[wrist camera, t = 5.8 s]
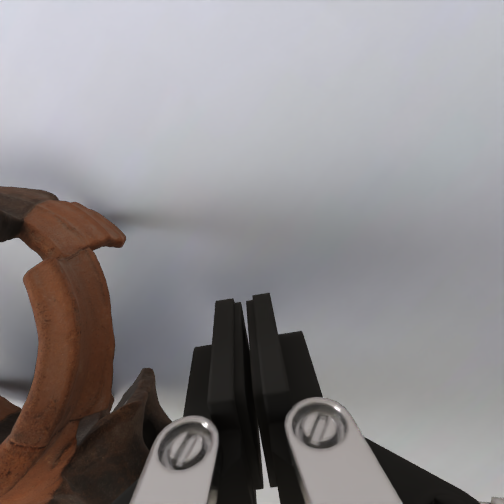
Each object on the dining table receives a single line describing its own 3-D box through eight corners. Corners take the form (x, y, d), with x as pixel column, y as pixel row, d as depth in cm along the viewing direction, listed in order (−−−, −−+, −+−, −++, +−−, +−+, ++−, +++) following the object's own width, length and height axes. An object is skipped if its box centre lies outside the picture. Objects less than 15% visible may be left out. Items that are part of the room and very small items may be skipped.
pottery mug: (-94, 366, 14) (-524, 455, 6) (52, 183, 16) (-135, 57, 8) (150, 529, 14) (48, 845, 6) (274, 329, 16) (328, 361, 7)
